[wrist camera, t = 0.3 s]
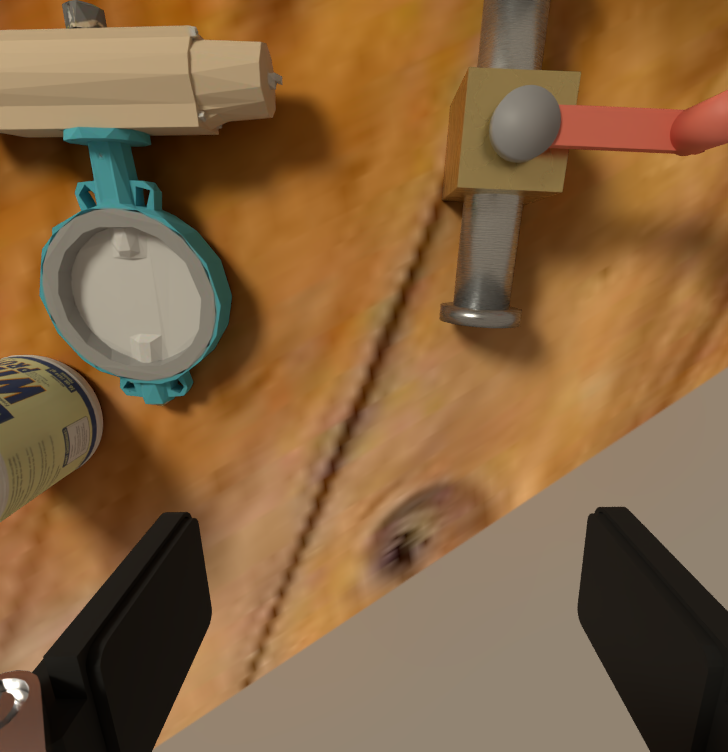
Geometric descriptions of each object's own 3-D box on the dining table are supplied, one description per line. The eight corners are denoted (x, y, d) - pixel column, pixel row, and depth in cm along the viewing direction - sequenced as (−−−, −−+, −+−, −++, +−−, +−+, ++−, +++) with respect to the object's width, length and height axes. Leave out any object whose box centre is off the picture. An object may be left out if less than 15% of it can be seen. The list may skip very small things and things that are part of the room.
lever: (485, 161, 28) (505, 143, 24) (493, 90, 27) (515, 58, 23) (694, 170, 28) (755, 154, 24) (710, 100, 27) (777, 68, 22)
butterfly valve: (306, 387, 44) (288, 22, 33) (294, 418, 38) (266, -20, 27) (48, 382, 45) (-55, 26, 34) (-7, 412, 39) (-155, -14, 28)
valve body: (463, -40, 32) (489, -132, 25) (559, -36, 32) (615, -128, 24) (431, 314, 39) (444, 328, 32) (510, 318, 39) (542, 334, 31)
